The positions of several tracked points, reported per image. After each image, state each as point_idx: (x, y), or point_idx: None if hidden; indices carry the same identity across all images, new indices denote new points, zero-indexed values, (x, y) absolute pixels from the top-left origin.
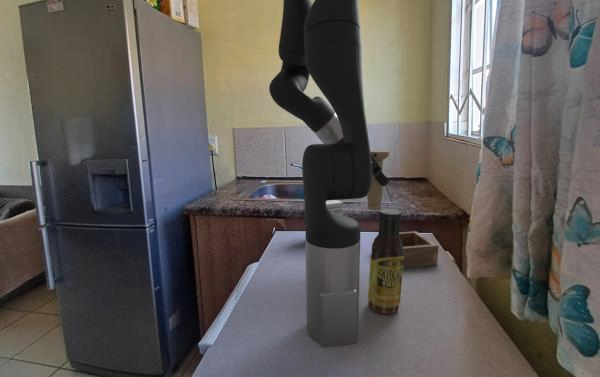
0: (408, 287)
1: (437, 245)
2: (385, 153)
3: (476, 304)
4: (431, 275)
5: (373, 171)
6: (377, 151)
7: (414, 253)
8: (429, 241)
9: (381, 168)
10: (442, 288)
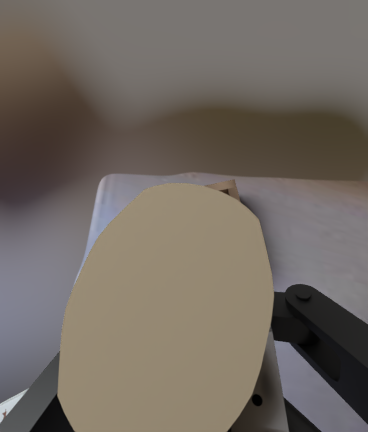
0: (322, 260)
1: (233, 180)
2: (260, 233)
3: (359, 183)
4: (274, 213)
5: (305, 341)
6: (204, 298)
7: None
8: (213, 188)
9: (318, 291)
10: (317, 211)
